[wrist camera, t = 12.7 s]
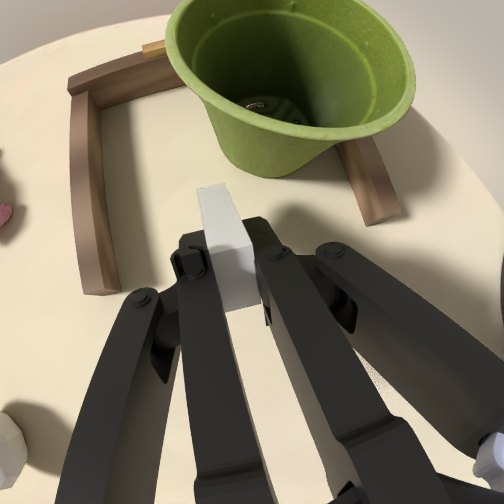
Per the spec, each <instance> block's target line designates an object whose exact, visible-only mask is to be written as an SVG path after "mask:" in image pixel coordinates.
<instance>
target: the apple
mask: <svg viewBox="0 0 504 504" xmlns="http://www.w3.org/2000/svg"><path fill="white" fill-rule="evenodd" d="M27 453H28V450H27V447H26V444H25V441H24V437H23V434H22V431H21V429H20V428H19V427H18V426H17V425H16V424H15V423H14V421H13V420H12V419H11V418H10V417H9V416H8V415H7V414H6V413H3V412H0V490H3V489H7V488H11V487H12V486H13V485H14V483H15V481H16V480H17V478H18V477H19V475H20V473H21V471H22V469H23V467H24V465H25V463H26V462H27Z"/></svg>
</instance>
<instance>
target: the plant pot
mask: <svg viewBox="0 0 504 504" xmlns="http://www.w3.org/2000/svg"><path fill="white" fill-rule="evenodd" d="M165 47H166V51H167V55H168V58H169V60H170V62H171V64H172V66H173V68H174V69H175V71H176V73H177V74H178V76H179V77H180V78H181V79H182V80H183V82H184V83H185V84H186V85H187V86H188V87H189V88H190V89H191V90H192V91H193V92H194V93H195V94H197V95H198V96H199V98H200V99H201V100H202V102H203V103H204V105H205V107H206V110H207V113H208V115H209V118H210V120H211V123H212V126H213V128H214V131H215V133H216V136H217V139H218V142H219V144H220V147H221V149H222V151H223V153H224V154H225V156H226V157H227V158H228V159H229V161H230V162H231V163H232V164H234V165H235V166H236V167H238V168H240V169H241V170H243V171H246V172H248V173H250V174H253V175H255V176H259V177H266V178H273V177H281V176H285V175H287V174H290V173H292V172H294V171H296V170H297V169H299V168H300V167H302V166H303V165H305V164H306V163H308V162H309V161H310V160H312V159H313V158H315V157H316V156H318V155H319V154H321V153H322V152H324V151H325V150H327V149H328V148H330V147H331V146H333V145H334V144H336V143H339V142H343V141H346V140H355V139H360V138H365V137H369V136H372V135H375V134H378V133H380V132H382V131H384V130H386V129H388V128H390V127H391V126H393V125H394V124H396V123H397V122H398V121H399V120H401V119H402V118H403V117H404V115H405V114H406V113H407V111H408V110H409V108H410V106H411V104H412V101H413V99H414V95H415V90H416V76H415V69H414V65H413V62H412V59H411V56H410V54H409V52H408V50H407V49H406V47H405V45H404V43H403V41H402V39H401V38H400V36H399V35H398V33H397V32H396V31H395V30H394V28H393V27H392V26H391V25H390V24H389V23H388V22H387V21H386V20H385V19H384V18H383V17H382V16H381V15H380V14H379V13H377V11H375V10H374V9H373V8H371V7H370V6H369V5H367V4H366V3H364V2H363V1H362V0H183V1H182V2H181V3H180V4H179V5H178V6H177V7H176V9H175V10H174V12H173V13H172V15H171V17H170V19H169V21H168V23H167V27H166V32H165ZM259 102H262V103H264V107H258V108H253V109H250V110H247V108H246V106H247V105H250V104H254V103H259ZM276 104H277V105H276ZM293 120H297V121H299V123H300V124H301V125H297V124H294V122H293Z"/></svg>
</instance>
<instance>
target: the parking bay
mask: <svg viewBox="0 0 504 504" xmlns="http://www.w3.org/2000/svg"><path fill="white" fill-rule="evenodd" d="M142 49H143V51H141V52H137V53H134V54H131V55H128V56H124V57H121V58H118V59H115V60H112V61H109V62H107V63H104V64H101V65H98V66H96V67H93V68H90V69H88V70H85V71H83V72H80V73H78V74H76V75H73V76H71V77H69V78H68V87H67V90H68V92H69V93H70V95H71V96H72V101H71V116H70V188H71V204H72V216H73V227H74V236H75V244H76V251H77V258H78V265H79V271H80V277H81V282H82V288H83V293H84V294H86V295H98V296H104V295H108V294H112V293H116V292H119V291H121V288H120V283H119V278H118V273H117V268H116V263H115V258H114V252H113V246H112V240H111V234H110V227H109V220H108V213H107V205H106V197H105V188H104V178H103V166H102V152H101V132H100V110H102V109H105V108H108V107H111V106H114V105H117V104H120V103H123V102H126V101H129V100H132V99H135V98H139V97H142V96H145V95H149V94H152V93H156V92H160V91H163V90H167V89H171V88H175V87H179V86H184V85H186V84H185V83H184V82H183V80H182V79H181V78H180V77H179V76H178V74H177V73H176V71H175V69H174V68H173V66H172V64H171V62H170V60H169V58H168V55H167V51H166V47H165V40H161V41H157V42H153V43H150V44H146V45H142ZM335 145H336V148H337V150H338V153H339V155H340V158H341V160H342V162H343V165H344V168H345V170H346V173H347V175H348V178H349V180H350V183H351V186H352V188H353V191H354V194H355V197H356V199H357V202H358V205H359V208H360V211H361V214H362V217H363V219H364V222H365V225H366V226H370V225H373V224H377V223H381V222H383V221H385V220H387V219H389V218H390V217H392V216H394V215H396V214H398V213H399V212H401V208H400V205H399V202H398V199H397V197H396V194H395V191H394V189H393V186H392V184H391V181H390V178H389V176H388V173H387V171H386V169H385V166H384V164H383V161H382V159H381V157H380V154H379V152H378V150H377V148H376V145H375V143H374V141H373V139H372V137H371V136H369V137H365V138H360V139H355V140H346V141H343V142H339V143H336V144H335Z"/></svg>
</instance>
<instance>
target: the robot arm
mask: <svg viewBox="0 0 504 504" xmlns="http://www.w3.org/2000/svg"><path fill="white" fill-rule="evenodd" d="M197 195H198V200H199V206H200V211H201V217H202V222H203V227H204V230H200V231H196V232H192V233H188V234H183V235H182V237H181V239H180V240H179V249H177V250H175V252H174V253H173V254H172V255H171V258H170V260H171V263H172V266H173V269H174V272H175V275H176V278H177V282H176V283H175V284H174V285H173V286H172V287H170V288H168V289H167V290H165V291H162V292H160V293H158V292H157V290H155V289H153V288H149V287H145V288H140V289H137V290H135V291H133V292H132V293H130V294H129V295H128V296H127V297H126V299H125V300H124V302H123V304H122V306H121V309H120V311H119V313H118V315H117V318H116V320H115V322H114V324H113V327H112V329H111V331H110V334H109V336H108V338H107V341H106V343H105V346H104V348H103V351H102V353H101V356H100V358H99V361H98V363H97V366H96V368H95V371H94V374H93V376H92V379H91V382H90V384H89V387H88V390H87V393H86V395H85V398H84V401H83V404H82V407H81V410H80V413H79V416H78V419H77V422H76V425H75V428H74V431H73V435H72V438H71V441H70V445H69V448H68V451H67V455H66V459H65V462H64V466H63V470H62V474H61V478H60V482H59V486H58V490H57V494H56V499H55V504H154V500H155V492H156V485H157V478H158V471H159V465H160V459H161V452H162V446H163V440H164V434H165V429H166V423H167V417H168V412H169V406H170V401H171V396H172V391H173V385H174V380H175V375H176V370H177V366H178V361H179V356H180V351H181V352H182V363H183V373H184V382H185V391H186V400H187V408H188V415H189V423H190V430H191V436H192V443H193V449H194V456H195V462H196V467H197V477H196V479H195V481H194V496H195V502H196V504H279V503H278V500H277V497H276V494H275V491H274V488H273V485H272V482H271V479H270V476H269V473H268V469H267V466H266V463H265V460H264V456H263V453H262V450H261V446H260V443H259V439H258V436H257V432H256V429H255V425H254V422H253V418H252V415H251V411H250V408H249V404H248V400H247V397H246V393H245V389H244V386H243V382H242V378H241V374H240V371H239V367H238V363H237V359H236V355H235V351H234V347H233V343H232V339H231V335H230V331H229V327H228V323H227V319H226V316H225V312H229V311H233V310H237V309H241V308H245V307H249V306H253V305H257V304H261V299H262V302H263V307H264V314H265V321H266V326H268V325H269V326H270V329H271V331H272V334H273V337H274V339H275V342H276V345H277V347H278V350H279V352H280V355H281V358H282V360H283V363H284V365H285V368H286V371H287V373H288V376H289V378H290V381H291V383H292V386H293V389H294V391H295V394H296V396H297V399H298V402H299V404H300V407H301V409H302V412H303V414H304V417H305V419H306V422H307V425H308V427H309V430H310V432H311V435H312V437H313V440H314V442H315V445H316V447H317V450H318V452H319V455H320V458H321V460H322V463H323V465H324V468H325V472H326V478H327V482H328V485H329V488H330V491H331V493H332V496H333V498H334V500H333V501H331V502H329V503H328V504H504V362H503V361H502V360H501V359H500V358H499V357H497V356H496V355H495V354H494V353H493V352H491V351H490V350H489V349H488V348H487V347H485V346H484V345H483V344H482V343H480V342H479V341H478V340H477V339H475V338H474V337H473V336H472V335H470V334H469V333H468V332H467V331H465V330H464V329H463V328H462V327H460V326H459V325H458V324H456V323H455V322H454V321H453V320H451V319H450V318H449V317H447V316H446V315H445V314H443V313H442V312H441V311H439V310H438V309H437V308H435V307H434V306H433V305H431V304H430V303H429V302H427V301H426V300H425V299H423V298H422V297H421V296H419V295H418V294H416V293H415V292H414V291H412V290H411V289H410V288H408V287H407V286H405V285H404V284H403V283H401V282H400V281H398V280H397V279H396V278H394V277H393V276H391V275H390V274H389V273H387V272H386V271H384V270H383V269H381V268H380V267H378V266H377V265H376V264H374V263H373V262H371V261H370V260H368V259H367V258H365V257H364V256H362V255H361V254H359V253H358V252H356V251H355V250H354V249H352V248H351V247H349V246H347V245H345V244H343V243H338V242H328V243H324V244H322V245H320V246H319V247H318V248H317V249H316V255H296V254H294V252H293V251H292V250H291V249H290V248H289V247H287V246H284V245H282V244H281V242H280V241H279V239H278V237H277V236H276V234H275V232H274V231H273V229H272V228H271V227H270V224H269V223H268V221H267V220H266V219H264V218H262V217H260V216H258V217H253V218H249V219H244V220H241V218H240V216H239V214H238V212H237V210H236V207H235V205H234V203H233V201H232V199H231V197H230V194H229V192H228V190H227V188H226V186H225V183H222V184H218V185H213V186H209V187H204V188H200V189H197ZM260 296H261V298H260ZM501 302H502V313H503V320H504V259H503V265H502V276H501ZM352 347H353V348H354V349H355V350H356V351H357V352H358V353H359V354H360V355H361V356H362V357H363V358H364V359H365V360H366V361H367V362H368V363H369V364H370V365H371V366H372V367H373V368H374V369H375V370H376V371H377V372H378V373H379V374H380V375H381V376H382V377H383V378H384V379H385V380H386V381H387V382H388V383H389V384H390V385H391V386H392V387H393V388H394V389H395V390H396V391H397V392H398V393H399V394H400V395H401V396H402V397H403V398H404V399H405V400H407V401H408V402H409V403H410V404H411V405H412V406H413V407H414V408H415V409H416V410H417V411H418V412H419V413H420V414H421V415H422V416H423V417H424V418H425V419H426V420H427V421H428V422H429V423H430V424H431V425H432V426H433V427H434V428H435V429H436V430H437V431H438V432H439V433H440V434H441V435H442V436H443V437H444V438H445V439H446V440H447V441H448V442H449V443H450V444H451V445H453V446H454V447H455V448H456V449H458V450H459V451H461V452H462V453H464V454H465V455H467V456H469V457H471V458H473V459H475V460H476V462H475V464H474V466H473V474H474V475H475V477H478V478H481V477H482V478H483V479H484V480H485V481H487V482H488V484H489V485H490V487H491V489H487V488H483V487H480V486H477V485H473V484H470V483H467V482H464V481H461V480H458V479H455V478H452V477H449V476H446V475H443V474H440V473H437V472H436V471H435V469H434V467H433V465H432V463H431V461H430V460H429V458H428V456H427V454H426V452H425V450H424V449H423V447H422V445H421V443H420V441H419V440H418V438H417V436H416V434H415V433H414V431H413V429H412V428H411V426H410V425H409V423H408V422H407V421H406V420H404V419H403V418H402V417H397V416H394V415H392V414H391V413H390V411H389V410H388V408H387V407H386V405H385V403H384V401H383V399H382V398H381V396H380V394H379V392H378V391H377V389H376V387H375V385H374V384H373V382H372V380H371V379H370V377H369V375H368V373H367V372H366V370H365V368H364V366H363V365H362V363H361V361H360V360H359V358H358V356H357V355H356V353H355V351H354V350H353V348H352Z"/></svg>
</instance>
